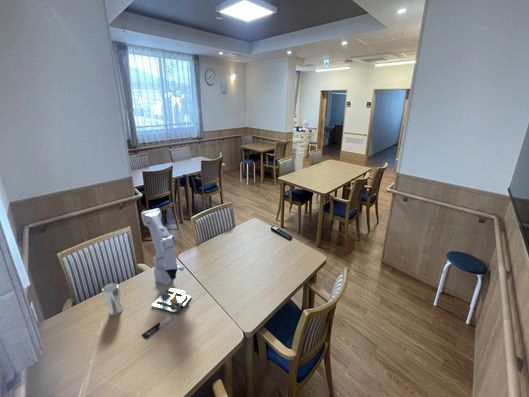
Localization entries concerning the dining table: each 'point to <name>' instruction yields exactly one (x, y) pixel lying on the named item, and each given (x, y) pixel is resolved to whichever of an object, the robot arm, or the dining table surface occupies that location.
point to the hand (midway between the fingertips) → (173, 278)
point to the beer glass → (112, 298)
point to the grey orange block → (175, 299)
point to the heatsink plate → (164, 301)
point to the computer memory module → (157, 327)
